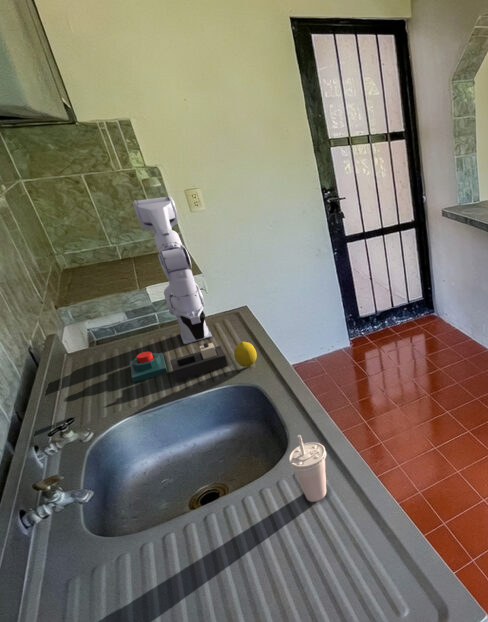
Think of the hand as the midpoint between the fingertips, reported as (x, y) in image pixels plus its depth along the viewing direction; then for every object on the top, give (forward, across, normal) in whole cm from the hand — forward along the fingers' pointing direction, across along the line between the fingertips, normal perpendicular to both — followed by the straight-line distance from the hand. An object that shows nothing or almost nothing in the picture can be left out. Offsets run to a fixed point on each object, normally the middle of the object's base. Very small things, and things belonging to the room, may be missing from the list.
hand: (199, 338), depth 126 cm
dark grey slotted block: (+9, +1, -2) cm, 9 cm away
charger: (+9, +1, +1) cm, 9 cm away
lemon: (+9, +9, +9) cm, 15 cm away
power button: (+6, -8, -14) cm, 17 cm away
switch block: (+9, -8, -14) cm, 18 cm away
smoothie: (+9, +66, +8) cm, 67 cm away
